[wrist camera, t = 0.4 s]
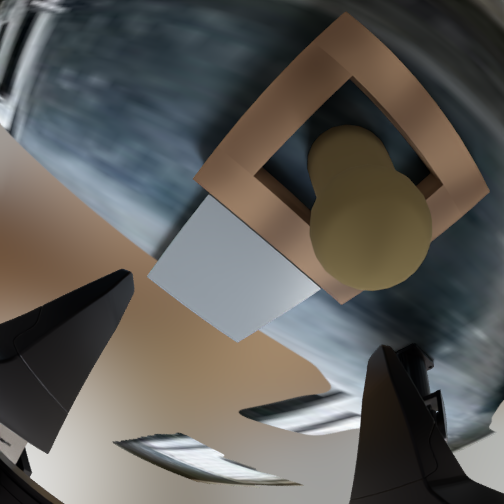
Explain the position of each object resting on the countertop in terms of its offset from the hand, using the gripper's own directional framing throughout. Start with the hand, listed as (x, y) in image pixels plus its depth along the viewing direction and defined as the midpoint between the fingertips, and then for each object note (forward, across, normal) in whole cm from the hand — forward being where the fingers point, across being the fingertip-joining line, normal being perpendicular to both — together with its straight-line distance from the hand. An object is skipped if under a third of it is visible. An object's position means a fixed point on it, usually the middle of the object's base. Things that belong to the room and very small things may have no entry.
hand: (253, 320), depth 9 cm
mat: (+13, +4, +10) cm, 17 cm away
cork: (+14, -4, -3) cm, 14 cm away
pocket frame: (+13, -4, -3) cm, 14 cm away
